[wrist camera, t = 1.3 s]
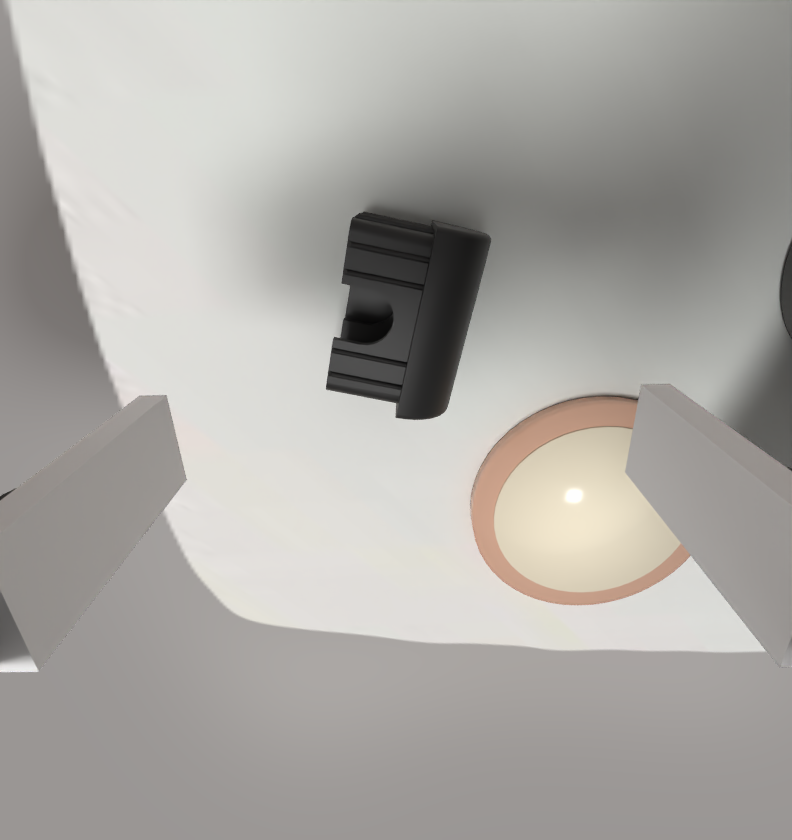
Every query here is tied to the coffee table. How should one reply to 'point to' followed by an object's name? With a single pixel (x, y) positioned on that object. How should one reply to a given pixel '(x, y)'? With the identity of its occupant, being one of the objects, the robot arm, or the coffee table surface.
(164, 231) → the coffee table surface
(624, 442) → the plate
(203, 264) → the coffee table surface
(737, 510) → the robot arm
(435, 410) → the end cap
